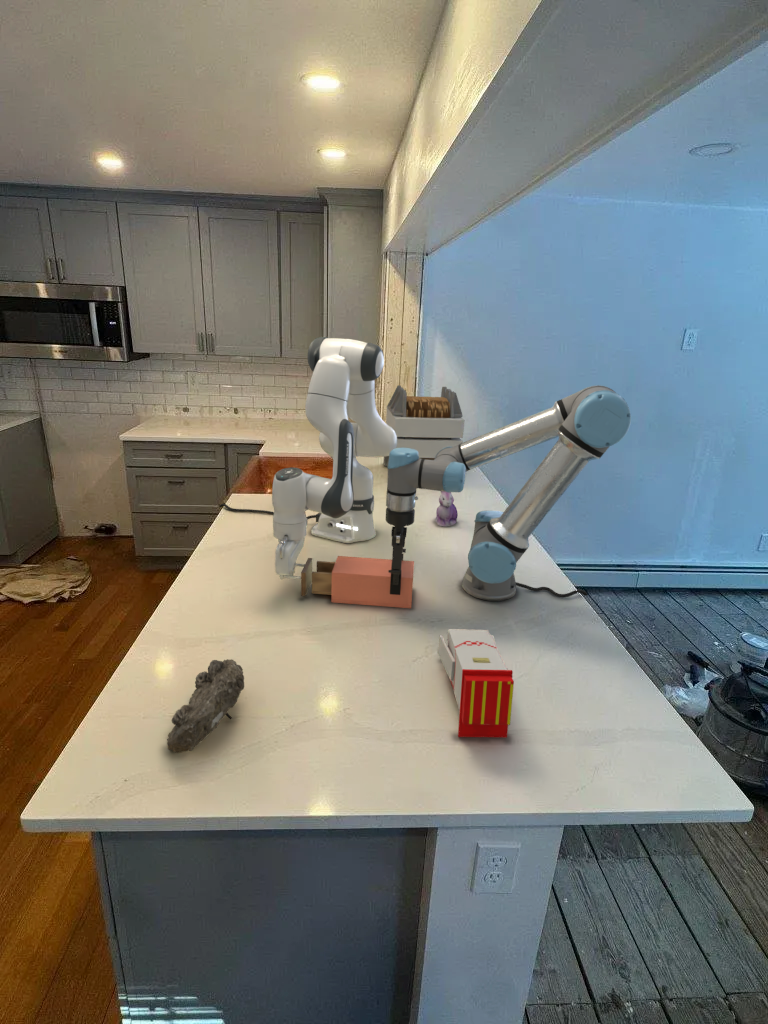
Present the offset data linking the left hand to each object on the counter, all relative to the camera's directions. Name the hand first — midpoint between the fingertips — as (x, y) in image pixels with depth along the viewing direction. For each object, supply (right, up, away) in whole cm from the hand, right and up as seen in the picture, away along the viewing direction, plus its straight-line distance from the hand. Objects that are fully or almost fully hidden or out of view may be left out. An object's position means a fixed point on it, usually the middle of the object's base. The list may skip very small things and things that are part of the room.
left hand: (290, 575), depth 156 cm
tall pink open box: (+23, -6, 0) cm, 23 cm away
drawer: (+11, -4, +1) cm, 11 cm away
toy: (+44, -20, -37) cm, 61 cm away
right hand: (+29, -2, -2) cm, 29 cm away
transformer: (+43, +36, +119) cm, 132 cm away
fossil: (-7, -22, -48) cm, 53 cm away
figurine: (+49, +13, +56) cm, 76 cm away
